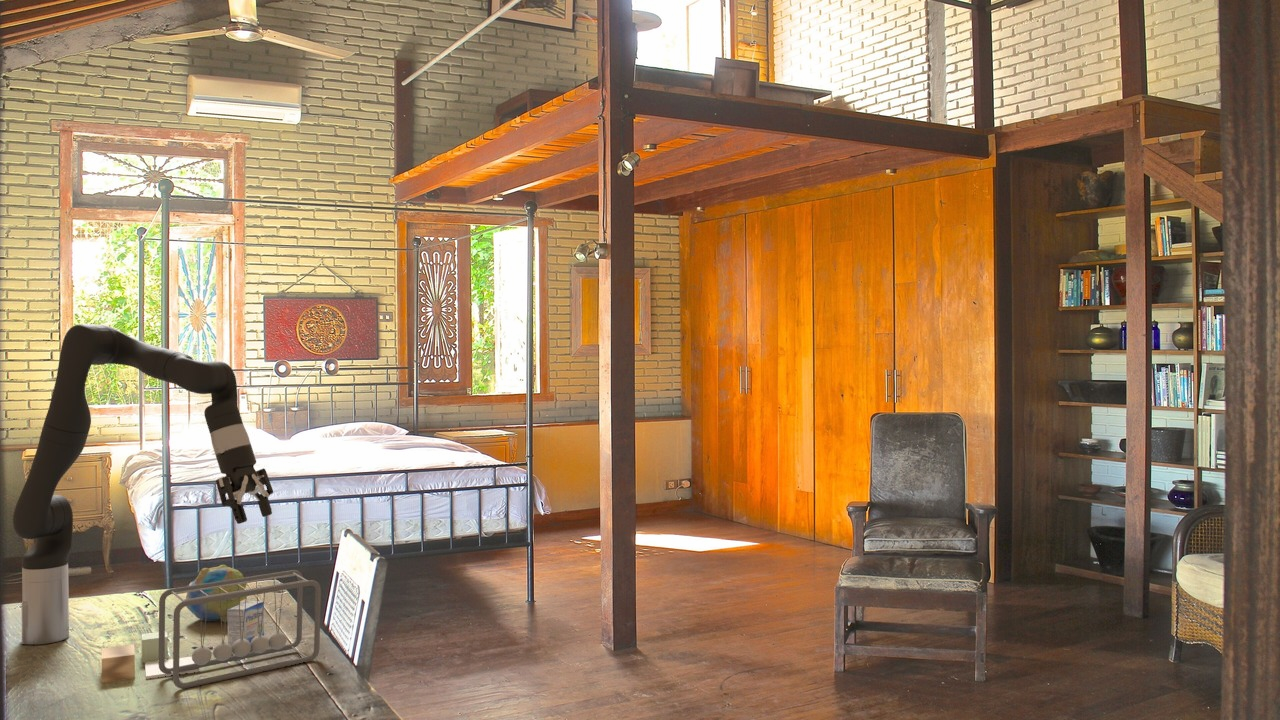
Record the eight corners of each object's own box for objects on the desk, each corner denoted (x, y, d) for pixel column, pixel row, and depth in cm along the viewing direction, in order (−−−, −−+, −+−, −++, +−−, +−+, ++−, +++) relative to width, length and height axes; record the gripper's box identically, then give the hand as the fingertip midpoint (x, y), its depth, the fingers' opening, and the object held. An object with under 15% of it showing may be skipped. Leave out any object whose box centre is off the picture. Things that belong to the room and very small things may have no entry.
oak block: (101, 683, 205) (101, 658, 205) (102, 672, 212) (102, 648, 212) (134, 678, 208) (134, 654, 208) (134, 667, 215) (134, 644, 215)
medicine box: (244, 648, 228) (244, 609, 228) (227, 647, 229) (226, 608, 229) (264, 638, 236) (264, 601, 236) (247, 637, 237) (247, 600, 237)
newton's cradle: (173, 691, 199) (174, 603, 198) (157, 675, 207) (158, 589, 206) (320, 660, 219) (321, 579, 218) (300, 646, 227) (301, 568, 226)
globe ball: (185, 557, 251) (222, 566, 243) (238, 565, 264) (275, 574, 256) (168, 614, 248) (206, 625, 240) (223, 619, 261) (260, 630, 253)
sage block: (142, 663, 218) (141, 640, 218) (141, 656, 222) (141, 634, 222) (167, 659, 220) (167, 636, 220) (166, 653, 225) (166, 631, 224)
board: (145, 679, 207) (145, 676, 207) (144, 665, 216) (144, 662, 216) (199, 671, 211) (199, 669, 211) (196, 658, 220) (196, 656, 220)
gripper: (240, 450, 230) (262, 518, 229) (196, 457, 216) (219, 530, 215) (267, 439, 228) (289, 508, 227) (224, 446, 214) (247, 519, 213)
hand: (255, 519), depth 221 cm, fingers open, 8 cm apart
